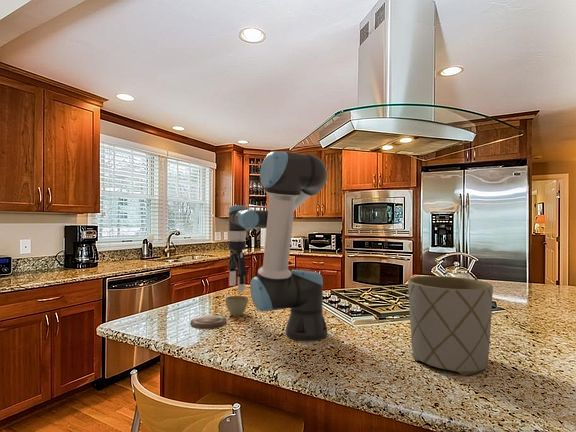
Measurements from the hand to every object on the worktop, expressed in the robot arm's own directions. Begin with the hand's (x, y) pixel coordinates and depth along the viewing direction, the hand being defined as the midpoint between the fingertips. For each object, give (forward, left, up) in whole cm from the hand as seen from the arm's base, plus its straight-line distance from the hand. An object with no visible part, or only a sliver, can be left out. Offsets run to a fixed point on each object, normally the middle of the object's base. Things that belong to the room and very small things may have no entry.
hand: (236, 288), depth 153 cm
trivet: (-8, +14, -11) cm, 20 cm away
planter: (-74, -44, -12) cm, 87 cm away
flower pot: (0, 0, -12) cm, 12 cm away
